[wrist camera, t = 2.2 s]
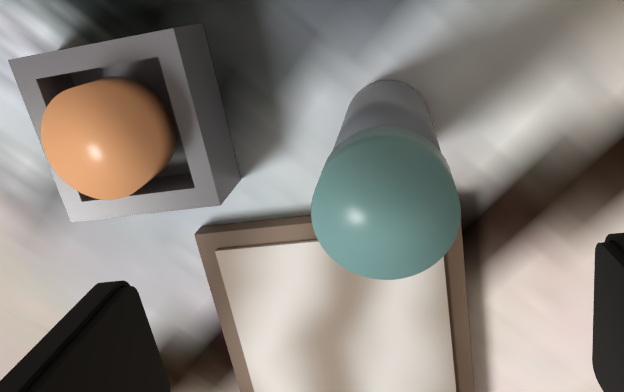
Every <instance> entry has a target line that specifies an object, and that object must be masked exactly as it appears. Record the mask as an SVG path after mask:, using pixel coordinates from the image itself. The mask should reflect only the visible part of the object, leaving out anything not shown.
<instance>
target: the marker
mask: <svg viewBox="0 0 624 392" xmlns="http://www.w3.org/2000/svg"><path fill="white" fill-rule="evenodd" d="M311 219H312V225H313V229H314V232H315V235H316V237H317V239H318V241H319V243H320V245H321V246H322V248H323V249H324V250H325V252H326V253H327V254H328V255H329V256H330V257H331V258H332V259H333V260H334V261H335V262H336V263H338V264H339V265H340V266H342V267H343V268H345V269H347V270H348V271H350V272H353V273H355V274H357V275H360V276H363V277H367V278H372V279H379V280H395V279H403V278H407V277H411V276H413V275H416V274H419V273H421V272H423V271H425V270H427V269H429V268H430V267H431V266H433V265H434V264H436V263H437V262H438V261H439V260H440V259H441V258H442V257H443V256H444V255H445V254H446V253H447V252H448V250H449V249H450V247H451V246H452V244H453V243H454V240H455V238H456V236H457V233H458V230H459V227H460V220H461V206H460V199H459V196H458V193H457V190H456V187H455V184H454V180H453V177H452V174H451V171H450V168H449V166H448V164H447V161H446V159H445V158H444V156H443V155H442V153H441V151H440V147H439V144H438V141H437V138H436V134H435V131H434V128H433V125H432V121H431V118H430V115H429V112H428V109H427V105H426V103H425V101H424V99H423V98H422V96H421V95H420V94H419V93H418V92H417V91H416V90H415V89H414V88H412V87H411V86H409V85H407V84H405V83H402V82H399V81H394V80H384V81H378V82H375V83H372V84H370V85H368V86H366V87H365V88H363V89H362V90H361V91H359V92H358V93H357V95H356V96H355V97H354V98H353V100H352V101H351V103H350V105H349V108H348V110H347V113H346V116H345V119H344V121H343V124H342V127H341V130H340V133H339V135H338V138H337V141H336V144H335V146H334V149H333V151H332V153H331V154H330V156H329V157H328V159H327V161H326V163H325V165H324V167H323V170H322V173H321V175H320V178H319V181H318V183H317V186H316V188H315V191H314V195H313V198H312V204H311Z"/></svg>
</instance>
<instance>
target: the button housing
mask: <svg viewBox="0 0 624 392" xmlns="http://www.w3.org/2000/svg"><path fill="white" fill-rule="evenodd" d="M8 61H9V64H10V67H11V69H12V72H13V74H14V77H15V79H16V82H17V85H18V87H19V90H20V92H21V95H22V97H23V100H24V103H25V105H26V108H27V110H28V113H29V116H30V118H31V121H32V123H33V126H34V128H35V131H36V134H37V136H38V139H39V141H40V144H41V146H42V149H43V152H44V154H45V151H44V148H43V145H42V140H41V122H42V117H43V114H44V112H45V109H46V108H47V106H48V104H49V103H50V102H51V100H52V99H53V98H54V97H55V96H57V95H58V94H59V93H61V92H63V91H65V90H67V89H70V88H73V87H76V86H79V85H83V84H86V83H89V82H93V81H96V80H99V79H102V78H106V77H114V76H116V77H126V78H130V79H133V80H136V81H138V82H140V83H142V84H144V85H145V86H147V87H149V88H150V89H151V90H152V91H154V92H155V93H156V94H157V95H158V96H159V97H160V98H161V100H162V101H163V102H164V104H165V105H166V107H167V108H168V110H169V112H170V114H171V116H172V119H173V122H174V126H175V131H176V145H175V150H174V154H173V156H172V158H171V160H170V162H169V163H168V165H167V166H166V167H165V168H164V169H163V170H162V171H161V172H160V173H159V174H157V175H156V176H155V177H153V178H152V179H151V180H150V181H148V182H147V183H146V184H145V185H143V186H142V187H141V188H140V189H138V190H137V191H136V192H134V193H133V194H131V195H129V196H127V197H124V198H121V199H116V200H101V199H96V198H92V197H89V196H87V195H84V194H82V193H80V192H78V191H77V190H75V189H73V188H72V187H71V186H69V185H68V184H67V183H66V182H65V181H64V180H63V179H62V178H61V177H60V176H59V175H58V174H57V173H56V171H55V170H54V169H53V167H52V166H51V164H50V162H49V161H48V158H47V156H46V154H45V157H46V159H47V162H48V164H49V167H50V170H51V172H52V175H53V177H54V180H55V182H56V185H57V188H58V190H59V193H60V195H61V198H62V200H63V203H64V206H65V208H66V211H67V213H68V216H69V218H70V221H71V222H78V221H86V220H95V219H104V218H113V217H122V216H131V215H140V214H148V213H157V212H166V211H175V210H184V209H193V208H202V207H210V206H219V205H221V204H222V203H223V201H224V200H225V199H226V198H227V196H228V195H229V194H230V193H231V191H232V190H233V189H234V188H235V186H236V185H237V184H238V183H239V181H240V180H241V177H240V173H239V169H238V165H237V161H236V156H235V152H234V148H233V144H232V140H231V136H230V132H229V128H228V124H227V120H226V116H225V111H224V107H223V103H222V99H221V95H220V91H219V87H218V83H217V79H216V75H215V71H214V66H213V62H212V58H211V54H210V50H209V46H208V42H207V38H206V34H205V30H204V26H203V23H199V24H194V25H188V26H182V27H176V28H171V29H166V30H160V31H155V32H150V33H145V34H140V35H135V36H130V37H124V38H119V39H114V40H109V41H104V42H99V43H94V44H88V45H83V46H78V47H73V48H68V49H63V50H57V51H52V52H47V53H42V54H37V55H32V56H27V57H21V58H16V59H11V60H8Z"/></svg>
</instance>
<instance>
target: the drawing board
mask: <svg viewBox="0 0 624 392" xmlns="http://www.w3.org/2000/svg"><path fill="white" fill-rule="evenodd" d="M195 238H196V242H197V245H198V249H199V252H200V255H201V259H202V262H203V266H204V269H205V273H206V276H207V279H208V283H209V286H210V290H211V293H212V296H213V300H214V303H215V307H216V310H217V313H218V317H219V320H220V324H221V327H222V331H223V334H224V337H225V341H226V344H227V348H228V351H229V354H230V358H231V361H232V365H233V368H234V372H235V375H236V378H237V382H238V385H239V389H240V392H474V382H473V370H472V357H471V344H470V331H469V318H468V305H467V292H466V279H465V266H464V253H463V240H462V228H461V220H460V227H459V230H458V233H457V236H456V238H455V240H454V243H453V244H452V246H451V247H450V249H449V250H448V252H447V253H446V254H445V255H444V256H443V257H442V258H441V259H440V260H439V261H438V262H437V263H436V264H434V265H433V266H431V267H430V268H429V269H427V270H425V271H423V272H421V273H419V274H416V275H413V276H411V277H407V278H403V279H395V280H379V279H372V278H367V277H363V276H360V275H357V274H355V273H353V272H350V271H348V270H347V269H345V268H343V267H342V266H340V265H339V264H338V263H336V262H335V261H334V260H333V259H332V258H331V257H330V256H329V255H328V254H327V253H326V252H325V250H324V249H323V248H322V246H321V245H320V243H319V241H318V239H317V237H316V235H315V232H314V229H313V225H312V219H311V215H309V216H299V217H289V218H280V219H270V220H261V221H251V222H242V223H232V224H222V225H213V226H203V227H200V228H199V230H198V231H197V232H196V233H195Z"/></svg>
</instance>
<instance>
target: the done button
mask: <svg viewBox="0 0 624 392" xmlns="http://www.w3.org/2000/svg"><path fill="white" fill-rule="evenodd" d="M41 140H42V145H43V148H44V151H45V154H46V156H47V158H48V161H49V162H50V164H51V166H52V167H53V169H54V170H55V171H56V173H57V174H58V175H59V176H60V177H61V178H62V179H63V180H64V181H65V182H66V183H67V184H68V185H69V186H71V187H72V188H73V189H75V190H77V191H78V192H80V193H82V194H84V195H87V196H89V197H92V198H96V199H101V200H116V199H121V198H124V197H127V196H129V195H131V194H133V193H134V192H136V191H137V190H138V189H140V188H141V187H142V186H143V185H145V184H146V183H147V182H148V181H150V180H151V179H152V178H153V177H155V176H156V175H157V174H159V173H160V172H161V171H162V170H163V169H164V168H165V167H166V166H167V165H168V163H169V162H170V160H171V158H172V156H173V154H174V150H175V145H176V131H175V126H174V122H173V119H172V116H171V114H170V112H169V110H168V108H167V107H166V105H165V104H164V102H163V101H162V100H161V98H160V97H159V96H158V95H157V94H156V93H155V92H154V91H152V90H151V89H150V88H149V87H147V86H145V85H144V84H142V83H140V82H138V81H136V80H133V79H130V78H126V77H116V76H114V77H106V78H102V79H99V80H96V81H93V82H89V83H86V84H83V85H79V86H76V87H73V88H70V89H67V90H65V91H63V92H61V93H59V94H58V95H57V96H55V97H54V98H53V99H52V100H51V102H50V103H49V104H48V106H47V108H46V109H45V112H44V114H43V117H42V122H41Z"/></svg>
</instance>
